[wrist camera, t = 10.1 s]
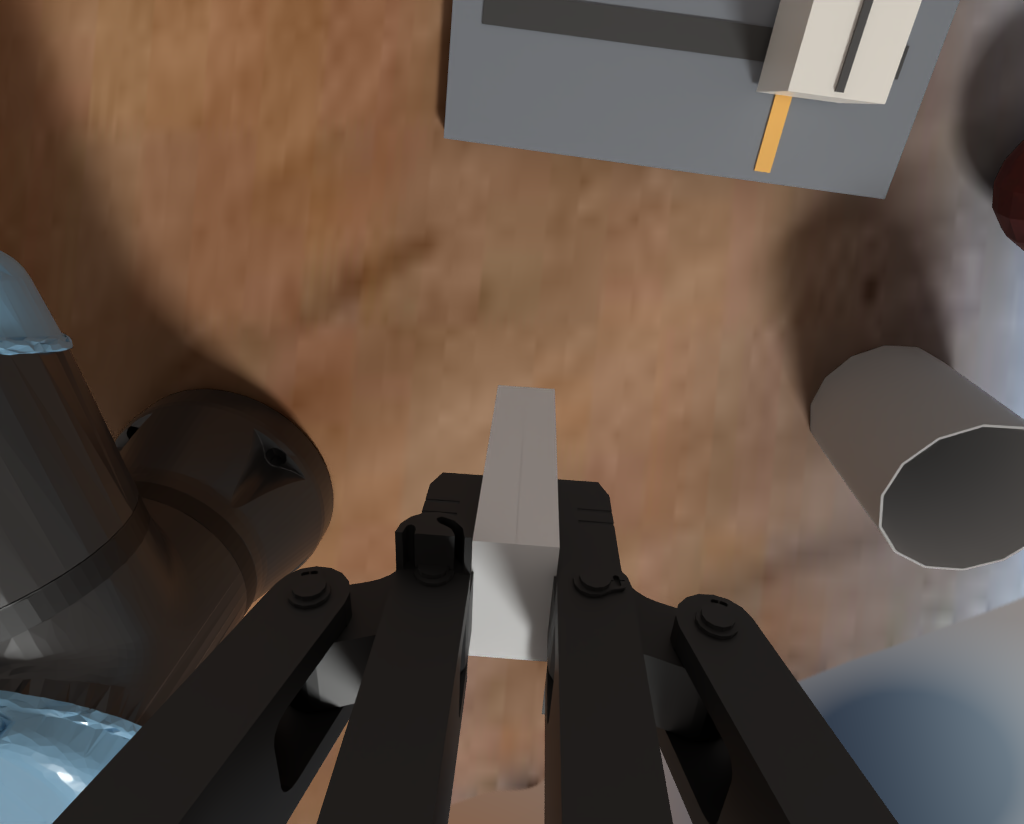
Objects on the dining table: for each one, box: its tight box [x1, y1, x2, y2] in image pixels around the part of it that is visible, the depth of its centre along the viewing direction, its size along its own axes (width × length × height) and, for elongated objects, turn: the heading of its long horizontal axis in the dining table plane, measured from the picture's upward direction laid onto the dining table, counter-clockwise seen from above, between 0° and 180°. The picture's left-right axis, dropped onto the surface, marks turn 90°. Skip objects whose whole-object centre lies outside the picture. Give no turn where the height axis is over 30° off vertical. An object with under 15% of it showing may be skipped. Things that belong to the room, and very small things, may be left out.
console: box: [444, 0, 960, 199], centre depth 30 cm, size 23×12×1 cm, turn 83°
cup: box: [810, 345, 1024, 571], centre depth 34 cm, size 8×8×10 cm
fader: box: [756, 0, 922, 104], centre depth 27 cm, size 4×4×5 cm
